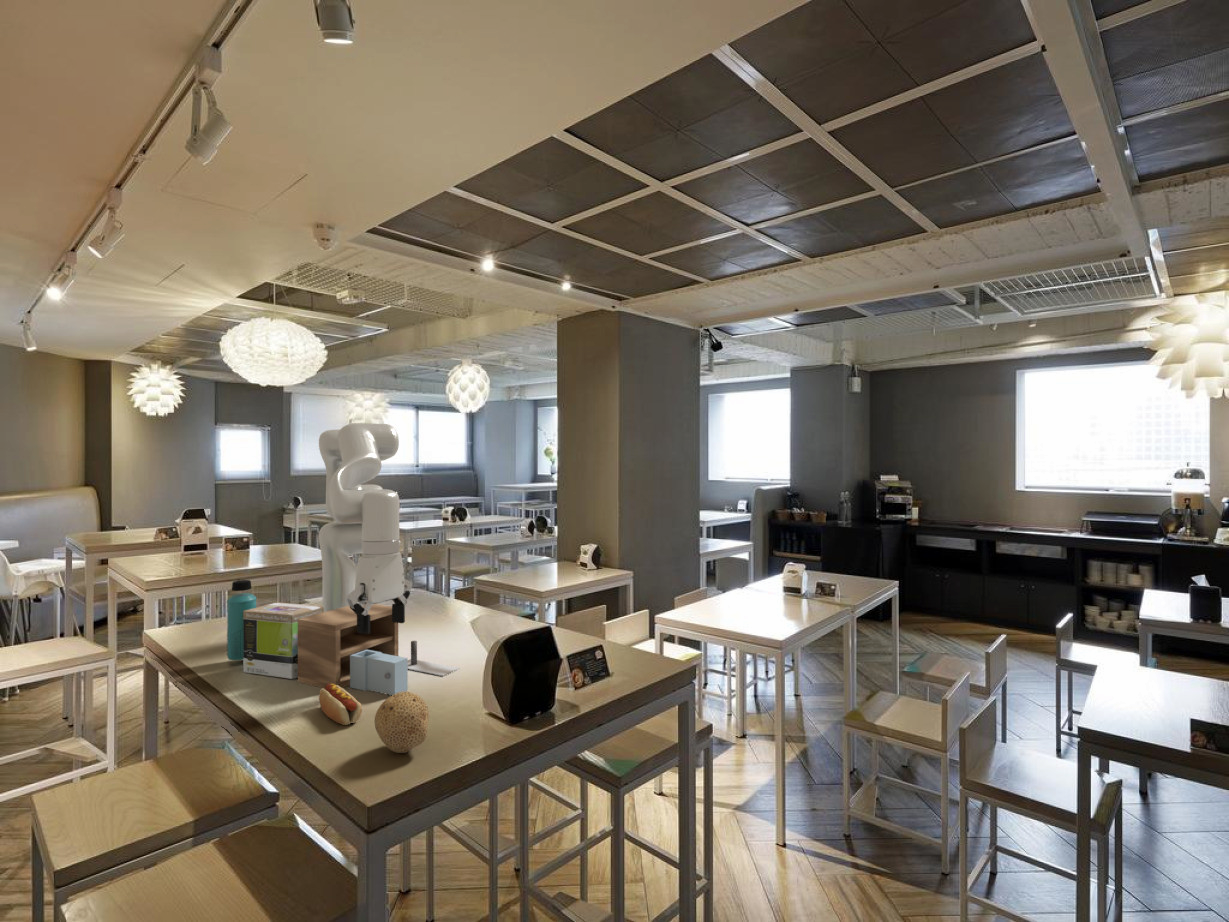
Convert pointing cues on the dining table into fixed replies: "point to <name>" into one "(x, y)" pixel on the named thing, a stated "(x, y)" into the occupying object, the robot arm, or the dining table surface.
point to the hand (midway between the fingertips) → (381, 627)
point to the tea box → (274, 638)
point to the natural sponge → (402, 721)
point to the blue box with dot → (378, 672)
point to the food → (339, 704)
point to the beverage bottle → (237, 618)
